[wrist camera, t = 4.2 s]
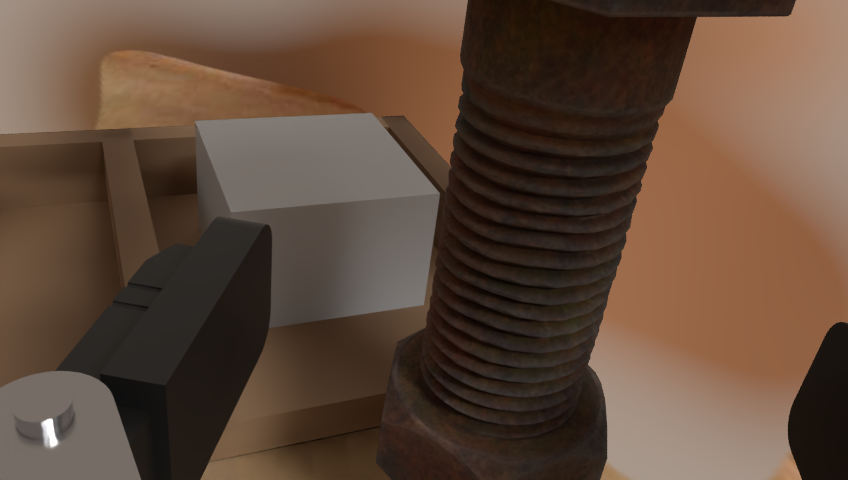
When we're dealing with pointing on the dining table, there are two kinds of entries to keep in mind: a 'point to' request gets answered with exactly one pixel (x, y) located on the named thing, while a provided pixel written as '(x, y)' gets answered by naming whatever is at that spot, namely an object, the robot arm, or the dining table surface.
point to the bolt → (535, 235)
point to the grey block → (323, 210)
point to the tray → (149, 235)
